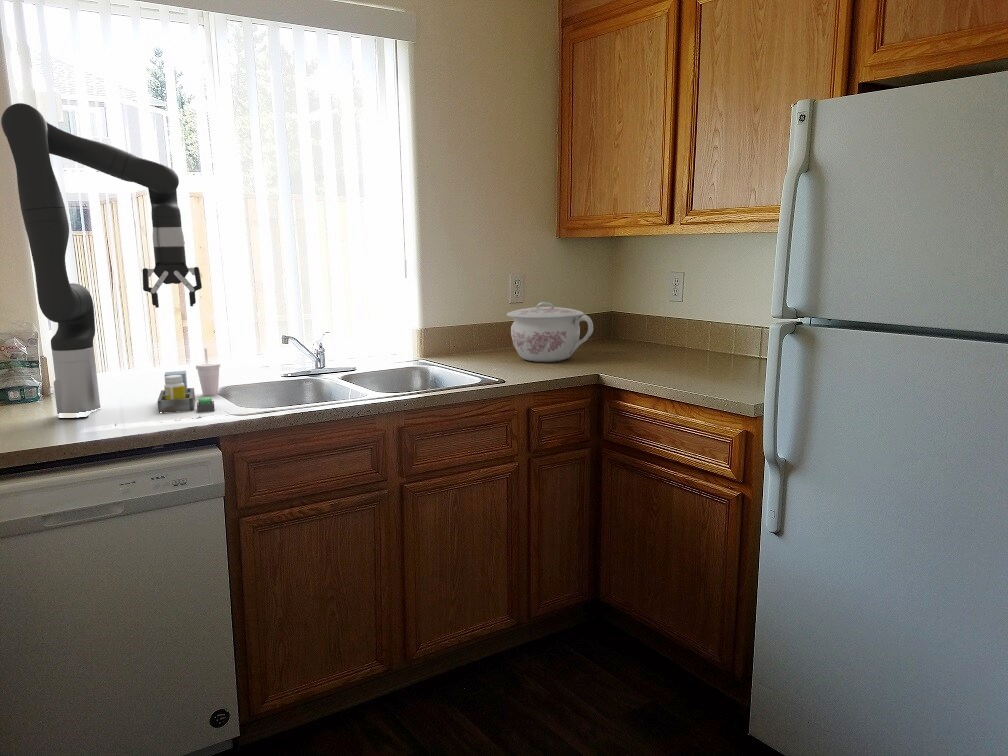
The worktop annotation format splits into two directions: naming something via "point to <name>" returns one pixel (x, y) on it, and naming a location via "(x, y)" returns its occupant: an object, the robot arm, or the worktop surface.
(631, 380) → the worktop surface
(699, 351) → the worktop surface
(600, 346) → the worktop surface
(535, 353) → the chamber pot
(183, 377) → the blue block
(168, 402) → the gray open tray
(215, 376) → the smoothie
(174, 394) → the supplement bottle
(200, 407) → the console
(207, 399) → the button
